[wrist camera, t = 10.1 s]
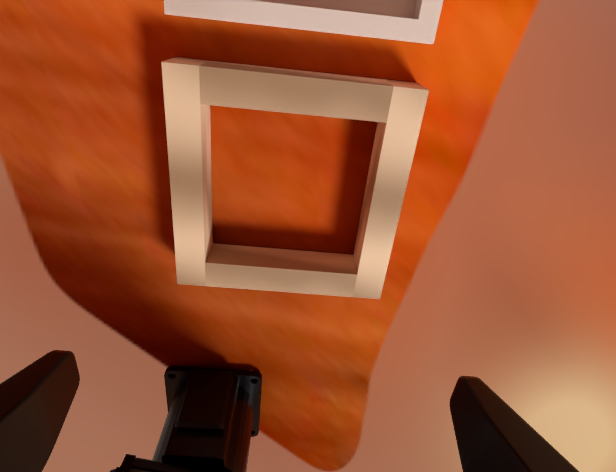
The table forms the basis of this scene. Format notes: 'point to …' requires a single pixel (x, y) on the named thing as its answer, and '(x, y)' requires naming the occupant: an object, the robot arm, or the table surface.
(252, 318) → the table surface
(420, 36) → the tray
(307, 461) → the table surface
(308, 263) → the holder
